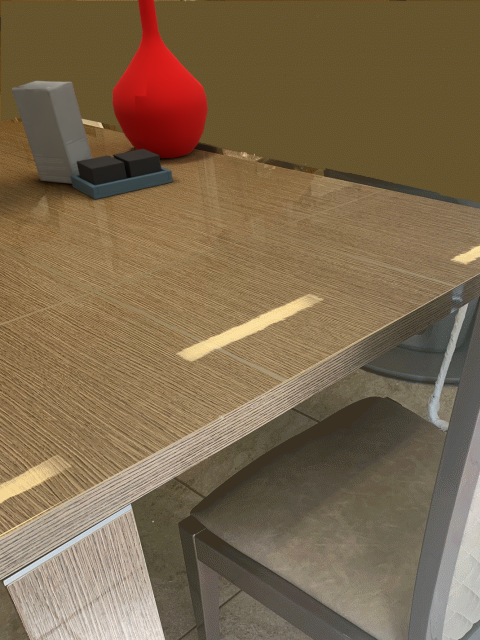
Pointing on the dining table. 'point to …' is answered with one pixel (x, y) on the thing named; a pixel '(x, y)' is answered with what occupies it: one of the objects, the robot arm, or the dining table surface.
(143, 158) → the seated pad
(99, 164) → the loose pad
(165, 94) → the vase
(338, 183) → the dining table surface
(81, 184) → the tray
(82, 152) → the cosmetic box
